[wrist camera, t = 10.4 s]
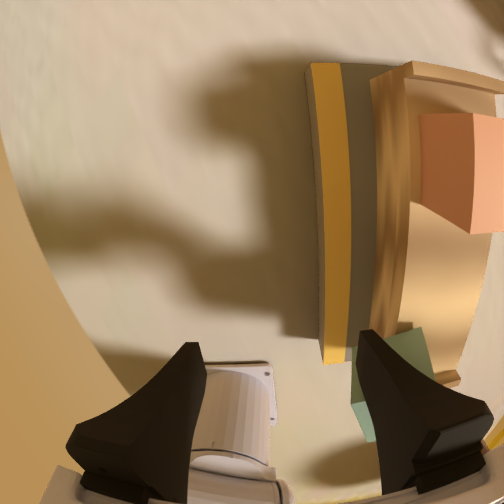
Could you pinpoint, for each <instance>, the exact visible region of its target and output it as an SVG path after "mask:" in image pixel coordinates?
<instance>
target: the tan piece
mask: <svg viewBox="0 0 504 504" xmlns="http://www.w3.org/2000/svg"><path fill="white" fill-rule="evenodd" d="M370 88H371V96H372V106H373V117H374V129H375V145H376V167H377V234H376V257H375V273H374V286H373V297H372V307H371V316H370V324H369V330H370V329H373V330H374V331H375V332H376V333H377V334H378V335H379V336H380V337H381V338H382V339H383V338H387V337H390V336H393V335H397V334H400V333H403V332H406V331H409V330H412V329H415V328H418V327H422V331H423V334H424V338H425V341H426V345H427V348H428V352H429V356H430V360H431V364H432V368H433V372H434V376H435V380H436V382H437V383H439V384H441V385H443V386H445V387H447V388H451V387H455V386H458V385H459V383H460V381H461V378H460V376H459V375H458V373H457V371H456V370H455V369H456V367H457V364H458V362H459V359H460V356H461V354H462V351H463V348H464V345H465V342H466V340H467V337H468V334H469V330H470V327H471V324H472V321H473V318H474V314H475V311H476V307H477V303H478V300H479V296H480V292H481V288H482V284H483V279H484V275H485V270H486V265H487V260H488V255H489V249H490V243H491V236H492V233H481V234H469V233H467V232H465V231H464V230H462V229H461V228H459V227H457V226H456V225H454V224H453V223H451V222H449V221H448V220H446V219H444V218H443V217H441V216H439V215H438V214H436V213H434V212H433V211H431V210H429V209H427V208H426V207H424V206H422V205H420V203H421V148H420V128H419V114H440V113H475V114H481V115H486V116H492V117H496V106H495V96H494V94H504V81H501V80H497V79H494V78H491V77H487V76H484V75H480V74H476V73H472V72H468V71H464V70H460V69H455V68H451V67H446V66H441V65H435V64H430V63H424V62H417V61H410V62H408V63H405V64H403V65H401V66H399V67H396V68H394V69H392V70H390V71H387V72H385V73H383V74H381V75H379V76H377V77H375V78H372V79H370Z"/></svg>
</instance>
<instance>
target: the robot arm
mask: <svg viewBox="0 0 504 504" xmlns="http://www.w3.org/2000/svg"><path fill="white" fill-rule="evenodd" d="M356 369H357V374H358V379H359V383H360V386H361V389H362V392H363V395H364V398H365V401H366V404H367V407H368V410H369V413H370V416H371V419H372V423H373V427H374V432H375V437H376V443H377V449H378V456H379V463H380V473H381V485H382V496H378V497H373V498H368V499H363V500H358V501H353V502H347V503H340V504H502V503H503V502H504V444H502V445H500V446H498V447H496V448H494V449H492V450H490V451H489V452H487V453H486V454H484V455H482V453H481V450H482V449H483V445H482V443H481V440H482V439H483V437H484V436H485V435H486V433H487V432H488V431H489V429H490V428H491V426H492V424H493V420H494V417H493V415H492V413H491V411H490V409H489V408H488V406H487V404H486V403H485V401H482V400H479V399H475V398H472V397H469V396H466V395H463V394H461V393H458V392H456V391H453V390H451V389H449V388H447V387H445V386H443V385H441V384H439V383H437V382H436V381H434V380H432V379H431V378H429V377H428V376H426V375H425V374H423V373H421V372H420V371H419V370H417V369H416V368H415V367H413V366H412V365H411V364H409V363H408V362H407V361H406V360H405V359H403V358H402V357H401V356H400V355H399V354H398V353H397V352H396V351H395V350H393V349H392V348H391V347H390V346H389V345H388V344H387V343H386V342H385V341H384V340H383V339H382V338H381V337H380V336H379V335H378V334H377V333H376V332H375V331H374V330H373V329H370V330H362V331H360V332H359V341H358V349H357V357H356ZM265 372H269V373H265ZM277 424H278V423H277V411H276V400H275V390H274V379H273V369H272V365H271V364H268V363H262V364H236V365H204V361H203V357H202V354H201V350H200V346H199V343H198V342H185V344H184V345H183V346H182V347H181V348H180V349H179V350H178V351H177V352H176V354H175V355H174V356H173V357H172V358H171V359H170V360H169V362H168V363H167V364H166V365H165V366H164V367H163V368H162V369H161V370H160V371H159V372H158V373H157V374H156V375H155V376H154V377H153V378H152V379H151V380H150V381H149V382H148V383H147V384H146V385H145V386H143V387H142V388H141V389H140V390H139V391H137V392H136V393H135V394H133V395H132V396H131V397H129V398H128V399H126V400H125V401H124V402H122V403H120V404H119V405H117V406H116V407H114V408H112V409H111V410H109V411H107V412H105V413H103V414H101V415H99V416H97V417H94V418H92V419H90V420H87V421H84V422H82V423H79V424H77V425H76V426H75V429H74V430H73V432H72V434H71V436H70V438H69V440H68V442H67V444H66V449H67V452H68V453H69V455H70V456H71V457H72V458H73V459H74V460H75V461H76V462H77V463H78V464H79V465H80V466H81V467H82V468H83V469H84V470H85V472H84V474H83V476H82V475H81V474H79V473H78V472H75V471H73V470H70V469H67V468H64V467H62V466H60V465H58V466H57V467H56V469H55V471H54V473H53V475H52V478H51V480H50V482H49V484H48V486H47V488H46V491H45V493H44V495H43V497H42V499H41V502H40V504H294V498H293V494H292V492H291V490H290V488H289V487H288V485H287V484H286V483H285V482H284V481H283V480H278V479H276V468H273V467H269V448H270V427H273V426H276V425H277Z"/></svg>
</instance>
